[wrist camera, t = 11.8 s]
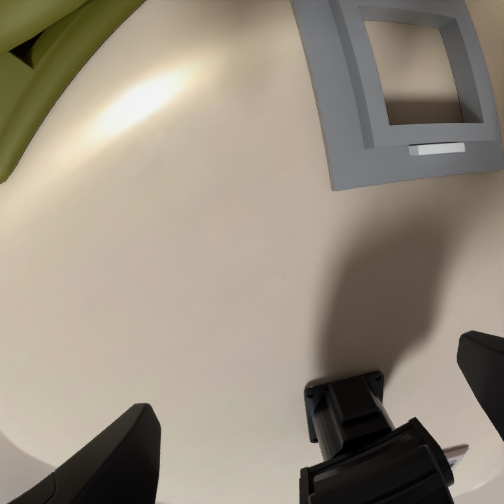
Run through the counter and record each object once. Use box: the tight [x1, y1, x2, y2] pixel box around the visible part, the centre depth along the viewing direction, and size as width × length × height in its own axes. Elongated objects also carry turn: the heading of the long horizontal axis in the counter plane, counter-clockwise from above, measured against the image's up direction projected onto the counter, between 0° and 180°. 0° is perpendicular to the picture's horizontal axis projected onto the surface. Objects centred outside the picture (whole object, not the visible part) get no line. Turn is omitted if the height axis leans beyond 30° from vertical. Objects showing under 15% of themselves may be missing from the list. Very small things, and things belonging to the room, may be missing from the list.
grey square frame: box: [290, 0, 504, 191], centre depth 16 cm, size 15×15×2 cm
